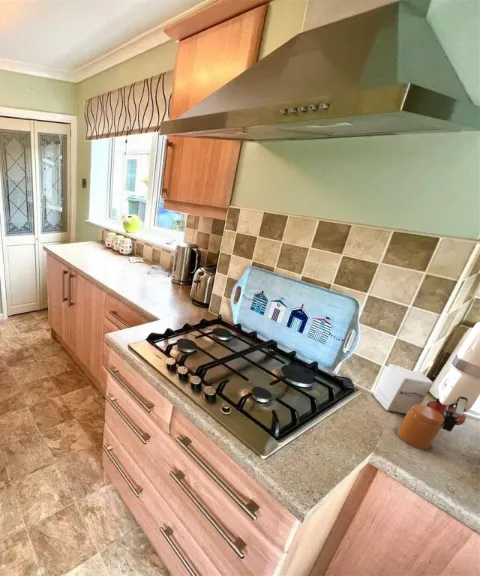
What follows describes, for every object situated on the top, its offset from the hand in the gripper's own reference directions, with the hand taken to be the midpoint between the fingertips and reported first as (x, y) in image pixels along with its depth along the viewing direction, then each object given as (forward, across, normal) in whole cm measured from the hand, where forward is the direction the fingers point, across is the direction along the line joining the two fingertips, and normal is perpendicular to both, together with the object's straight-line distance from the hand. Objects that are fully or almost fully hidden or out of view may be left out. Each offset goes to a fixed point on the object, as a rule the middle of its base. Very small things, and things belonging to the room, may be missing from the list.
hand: (440, 419), depth 85 cm
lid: (-3, 0, 0) cm, 3 cm away
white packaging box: (+5, -6, -8) cm, 12 cm away
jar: (+5, +7, -4) cm, 10 cm away
